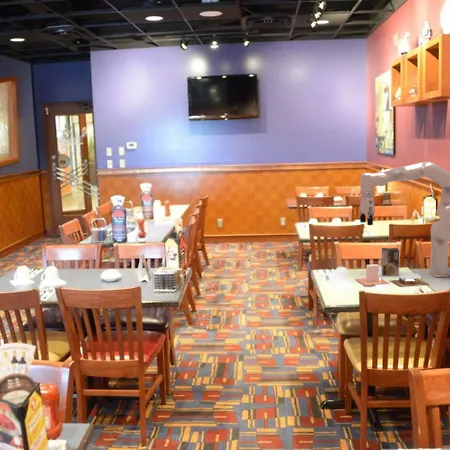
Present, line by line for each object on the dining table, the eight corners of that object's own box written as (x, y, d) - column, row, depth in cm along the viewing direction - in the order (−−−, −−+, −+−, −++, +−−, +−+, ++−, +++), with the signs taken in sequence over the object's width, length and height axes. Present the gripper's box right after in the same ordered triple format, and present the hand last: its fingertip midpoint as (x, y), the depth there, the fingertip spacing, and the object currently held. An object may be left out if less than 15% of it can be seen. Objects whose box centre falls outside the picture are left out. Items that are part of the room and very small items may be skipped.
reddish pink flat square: (378, 278, 346) (378, 277, 346) (389, 285, 332) (389, 283, 332) (355, 280, 343) (355, 278, 343) (365, 286, 330) (365, 285, 329)
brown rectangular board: (417, 279, 342) (417, 274, 341) (430, 286, 328) (430, 280, 328) (388, 282, 338) (388, 276, 338) (399, 288, 325) (400, 282, 324)
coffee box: (396, 274, 354) (397, 247, 351) (398, 277, 348) (399, 250, 345) (380, 274, 355) (381, 247, 352) (382, 277, 349) (383, 249, 346)
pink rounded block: (376, 279, 339) (376, 264, 338) (378, 281, 337) (378, 265, 335) (366, 280, 338) (366, 264, 337) (368, 282, 335) (368, 266, 334)
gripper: (379, 195, 340) (379, 225, 343) (366, 192, 357) (366, 221, 360) (367, 196, 339) (366, 226, 342) (354, 192, 355) (354, 221, 358)
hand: (366, 223), depth 351 cm, fingers open, 9 cm apart
